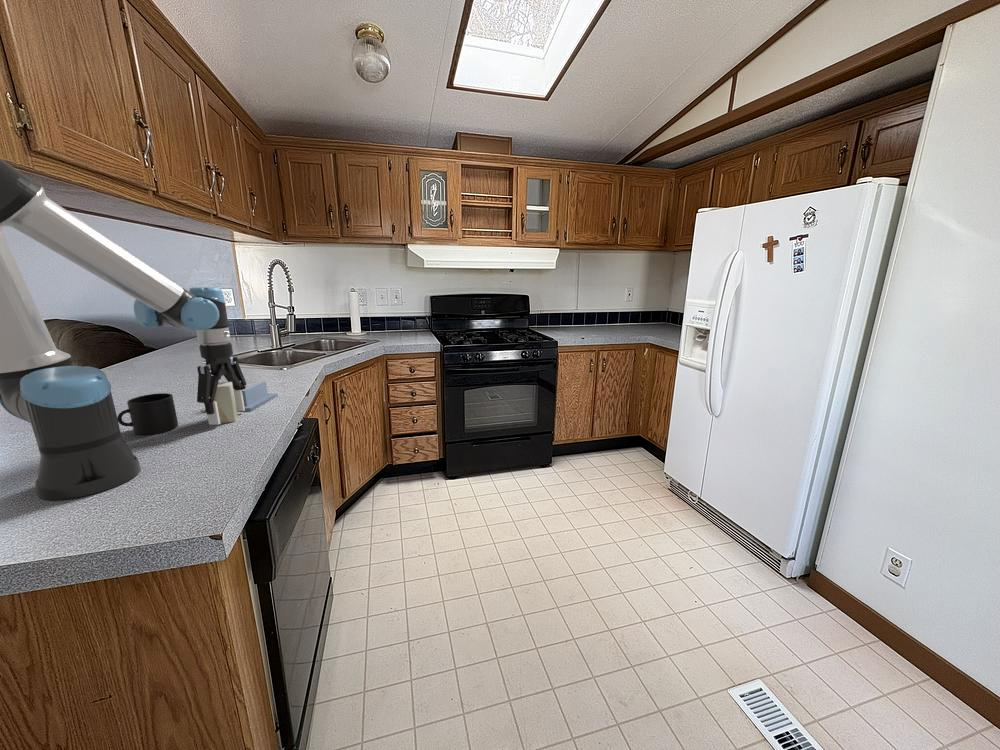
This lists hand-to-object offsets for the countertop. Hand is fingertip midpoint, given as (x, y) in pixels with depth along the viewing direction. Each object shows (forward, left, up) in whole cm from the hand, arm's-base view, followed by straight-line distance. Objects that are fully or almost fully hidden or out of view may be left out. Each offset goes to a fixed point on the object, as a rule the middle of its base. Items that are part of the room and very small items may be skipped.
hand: (227, 417), depth 118 cm
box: (0, 0, -1) cm, 1 cm away
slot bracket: (+16, +5, -1) cm, 17 cm away
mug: (-8, +16, -1) cm, 18 cm away
